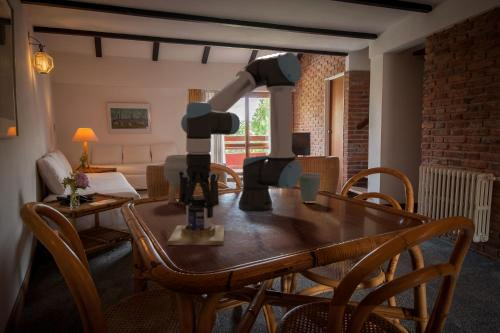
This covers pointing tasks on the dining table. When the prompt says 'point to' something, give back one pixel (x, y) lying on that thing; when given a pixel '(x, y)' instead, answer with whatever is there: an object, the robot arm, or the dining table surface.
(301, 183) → the disposable coffee cup
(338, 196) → the dining table surface
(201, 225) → the pill bottle
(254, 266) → the dining table surface
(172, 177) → the planter
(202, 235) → the square socket plate
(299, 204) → the dining table surface
